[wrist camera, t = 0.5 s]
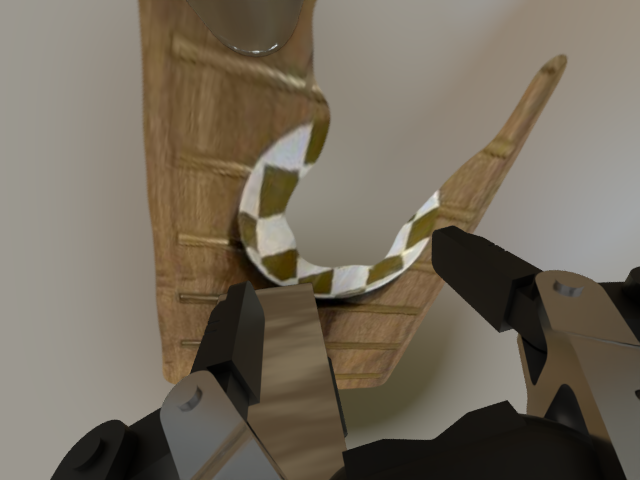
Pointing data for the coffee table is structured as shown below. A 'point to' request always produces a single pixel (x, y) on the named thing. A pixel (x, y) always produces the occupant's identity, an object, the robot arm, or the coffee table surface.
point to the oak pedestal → (296, 388)
